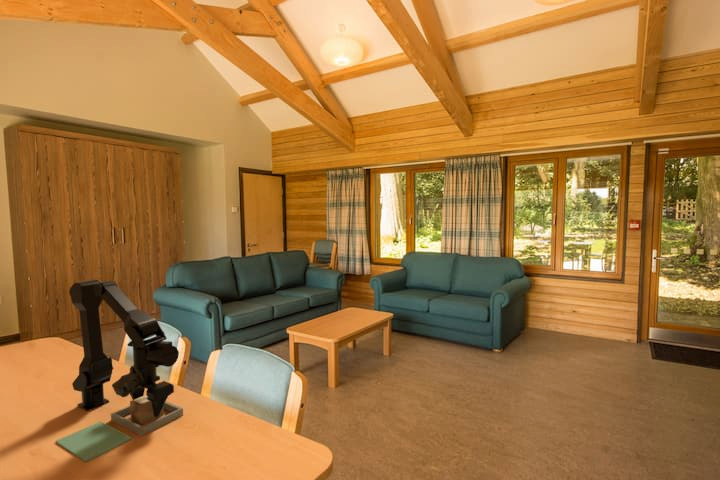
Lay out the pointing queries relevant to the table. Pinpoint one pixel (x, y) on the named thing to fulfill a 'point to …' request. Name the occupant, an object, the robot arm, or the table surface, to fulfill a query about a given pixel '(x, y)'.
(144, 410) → the walnut block
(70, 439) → the mat
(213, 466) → the table surface
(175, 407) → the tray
